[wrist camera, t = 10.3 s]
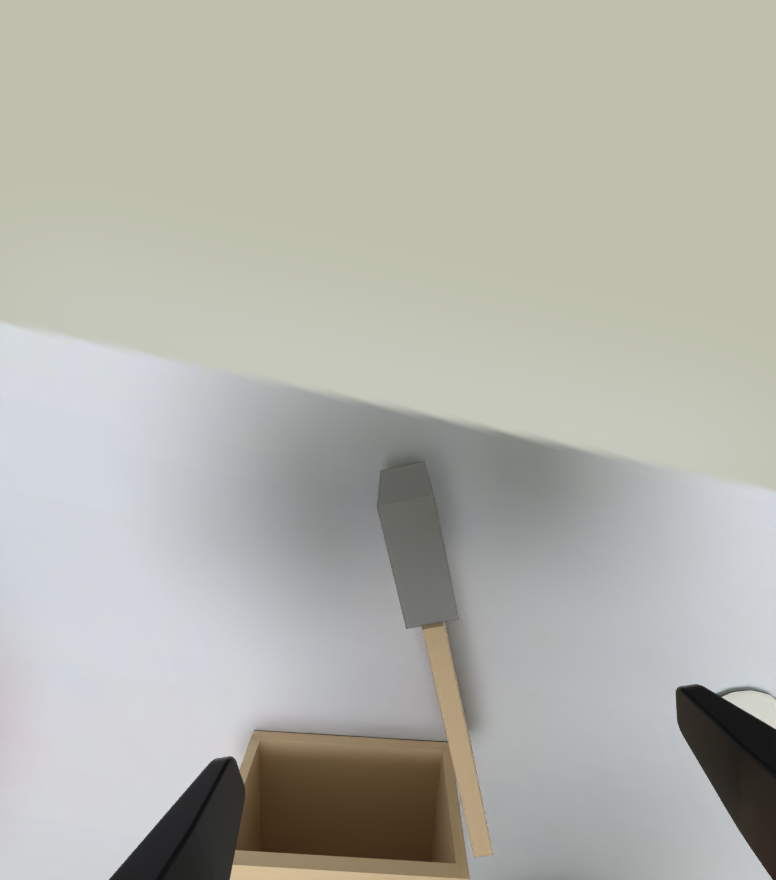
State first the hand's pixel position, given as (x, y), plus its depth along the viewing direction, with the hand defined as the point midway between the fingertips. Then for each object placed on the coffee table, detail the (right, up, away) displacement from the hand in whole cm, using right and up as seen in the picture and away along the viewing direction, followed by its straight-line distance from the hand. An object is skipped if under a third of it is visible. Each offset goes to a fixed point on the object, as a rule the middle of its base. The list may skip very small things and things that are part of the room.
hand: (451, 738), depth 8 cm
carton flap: (+1, -3, +13) cm, 13 cm away
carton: (-4, -16, +16) cm, 23 cm away
